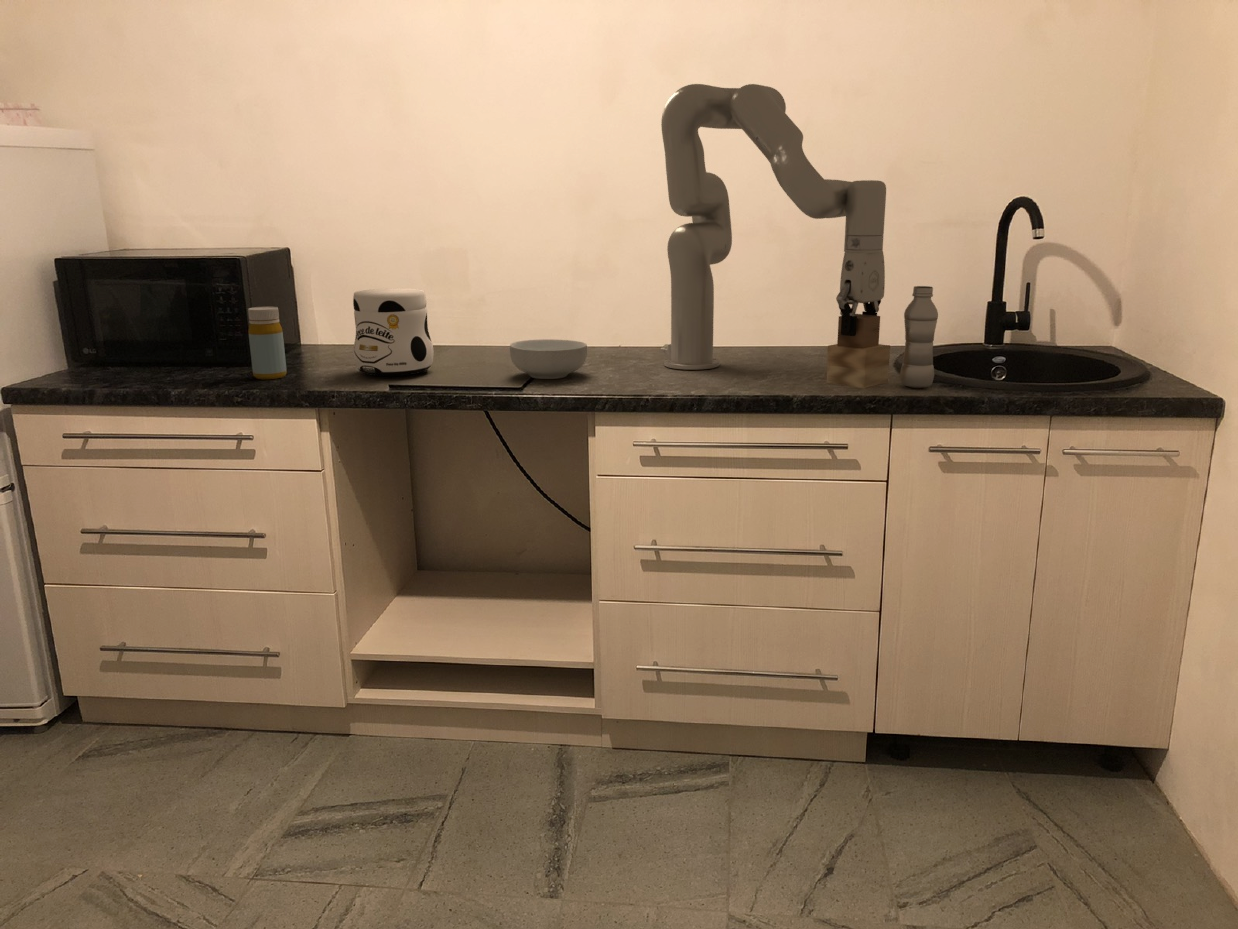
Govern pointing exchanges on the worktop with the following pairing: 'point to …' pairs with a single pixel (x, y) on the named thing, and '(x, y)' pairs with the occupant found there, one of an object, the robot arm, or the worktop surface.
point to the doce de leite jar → (391, 332)
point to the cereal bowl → (548, 357)
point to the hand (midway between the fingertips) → (858, 332)
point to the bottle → (266, 343)
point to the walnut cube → (861, 332)
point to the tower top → (858, 356)
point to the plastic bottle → (919, 339)
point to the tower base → (857, 376)
